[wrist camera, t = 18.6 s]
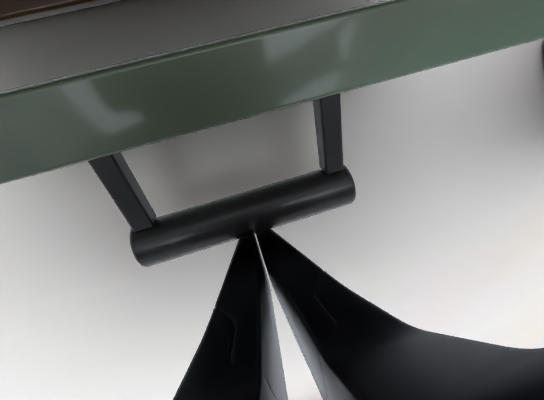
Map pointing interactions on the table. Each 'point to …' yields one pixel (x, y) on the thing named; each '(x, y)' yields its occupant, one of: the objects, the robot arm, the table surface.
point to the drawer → (237, 104)
